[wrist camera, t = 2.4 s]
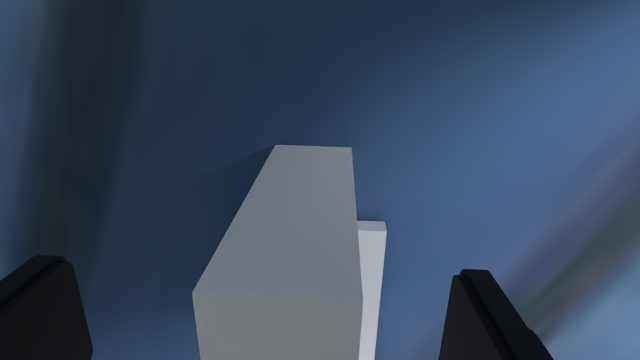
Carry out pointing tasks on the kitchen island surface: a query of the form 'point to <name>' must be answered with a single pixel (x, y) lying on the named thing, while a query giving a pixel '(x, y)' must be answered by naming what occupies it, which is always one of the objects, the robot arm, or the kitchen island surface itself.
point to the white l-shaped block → (294, 266)
